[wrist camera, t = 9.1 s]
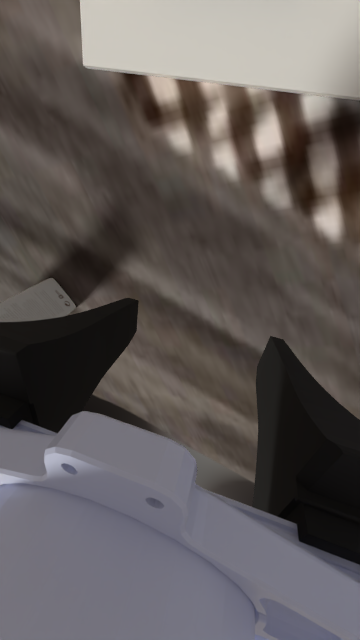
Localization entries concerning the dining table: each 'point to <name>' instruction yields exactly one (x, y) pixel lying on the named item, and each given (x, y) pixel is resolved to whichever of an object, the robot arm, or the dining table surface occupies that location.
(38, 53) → the dining table surface
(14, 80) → the dining table surface
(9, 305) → the skincare box
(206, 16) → the socket plate
